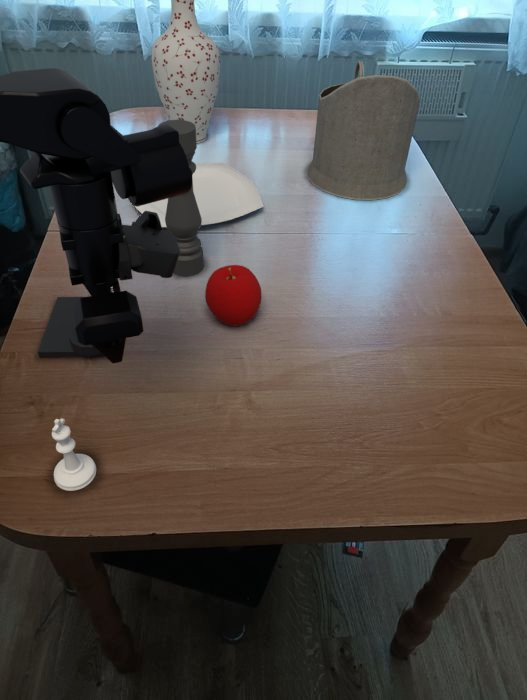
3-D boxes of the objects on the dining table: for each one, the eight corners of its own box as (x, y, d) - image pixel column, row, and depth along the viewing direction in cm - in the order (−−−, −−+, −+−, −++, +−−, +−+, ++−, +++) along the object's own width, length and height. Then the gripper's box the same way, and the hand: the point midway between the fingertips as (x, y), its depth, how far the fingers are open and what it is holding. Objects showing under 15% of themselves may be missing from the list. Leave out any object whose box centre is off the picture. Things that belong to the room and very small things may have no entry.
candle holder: (196, 253, 101) (188, 116, 83) (209, 271, 97) (203, 131, 79) (164, 261, 98) (150, 122, 81) (176, 279, 94) (163, 137, 77)
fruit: (198, 305, 89) (195, 254, 83) (248, 293, 92) (249, 243, 85) (217, 340, 83) (216, 288, 77) (270, 326, 86) (273, 275, 79)
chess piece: (104, 463, 66) (89, 410, 60) (81, 496, 63) (63, 444, 56) (69, 451, 68) (50, 398, 61) (45, 483, 64) (23, 431, 57)
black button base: (110, 361, 79) (107, 346, 77) (38, 362, 79) (32, 347, 77) (123, 302, 89) (120, 287, 87) (58, 302, 89) (54, 287, 87)
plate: (228, 164, 129) (228, 156, 127) (279, 218, 111) (280, 209, 110) (116, 183, 120) (115, 174, 118) (152, 244, 102) (151, 235, 101)
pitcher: (310, 198, 118) (323, 75, 101) (302, 139, 141) (311, 31, 124) (415, 201, 118) (446, 80, 101) (390, 143, 141) (412, 35, 124)
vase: (221, 126, 146) (219, -31, 122) (221, 151, 134) (218, -17, 110) (161, 124, 145) (146, -34, 121) (155, 150, 133) (138, -20, 109)
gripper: (190, 255, 48) (197, 376, 59) (153, 166, 61) (165, 279, 72) (60, 275, 45) (93, 398, 56) (50, 177, 58) (78, 292, 69)
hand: (112, 335), depth 63 cm, fingers open, 9 cm apart
